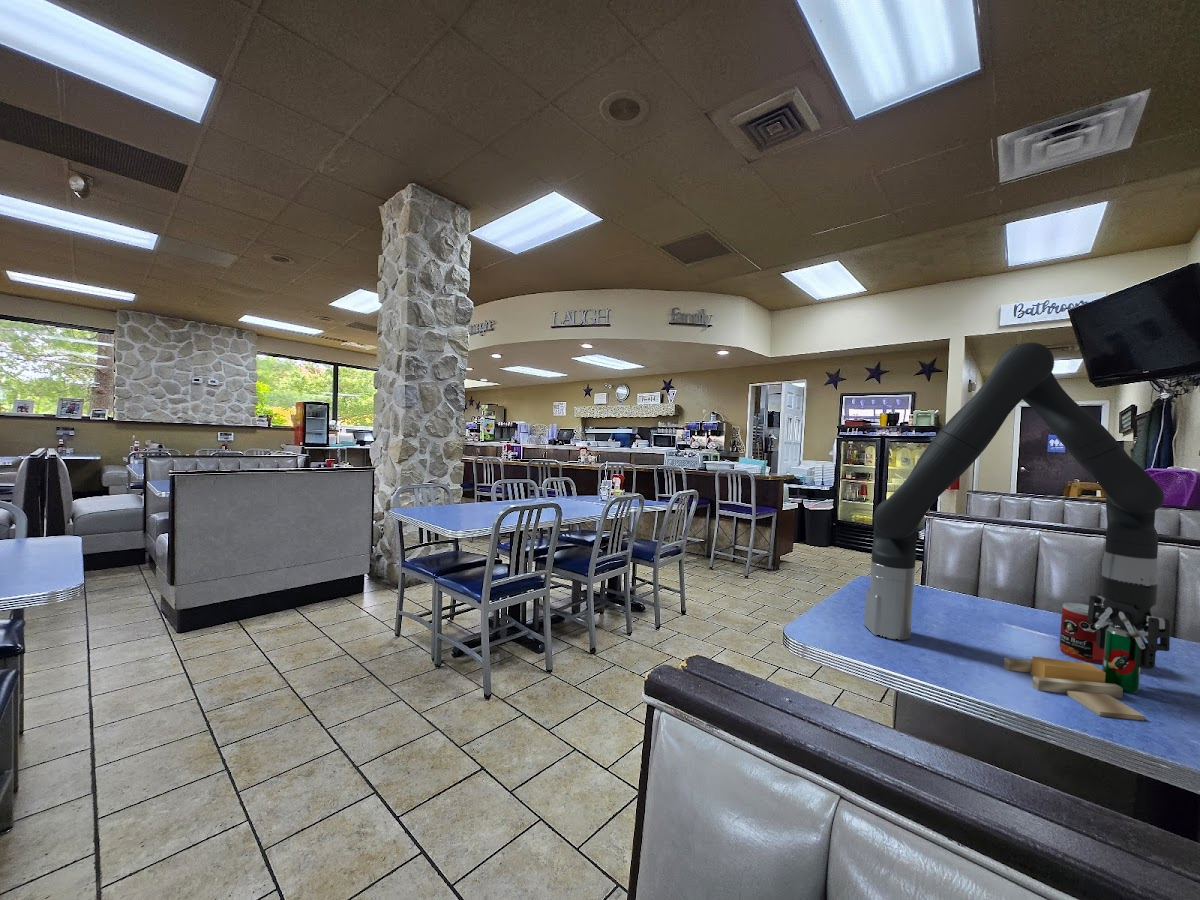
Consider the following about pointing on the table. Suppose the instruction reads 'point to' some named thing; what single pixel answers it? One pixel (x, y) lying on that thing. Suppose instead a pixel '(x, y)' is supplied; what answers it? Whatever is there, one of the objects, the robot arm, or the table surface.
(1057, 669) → the long wooden beam
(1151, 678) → the table surface
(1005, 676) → the table surface
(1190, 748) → the table surface
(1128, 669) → the soda can
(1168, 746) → the table surface
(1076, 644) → the canned food
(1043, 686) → the rails
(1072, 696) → the coaster
